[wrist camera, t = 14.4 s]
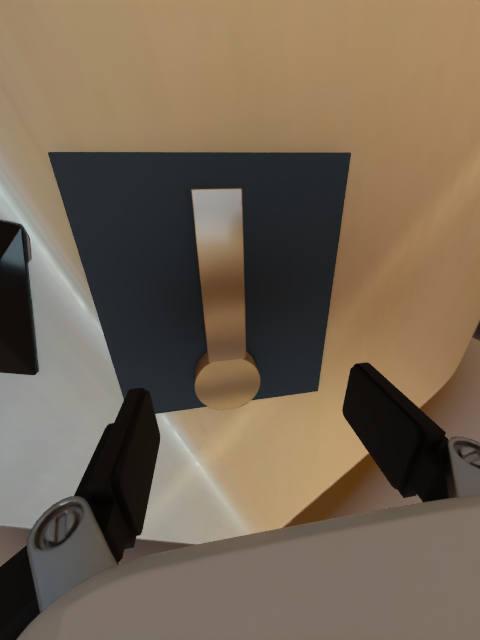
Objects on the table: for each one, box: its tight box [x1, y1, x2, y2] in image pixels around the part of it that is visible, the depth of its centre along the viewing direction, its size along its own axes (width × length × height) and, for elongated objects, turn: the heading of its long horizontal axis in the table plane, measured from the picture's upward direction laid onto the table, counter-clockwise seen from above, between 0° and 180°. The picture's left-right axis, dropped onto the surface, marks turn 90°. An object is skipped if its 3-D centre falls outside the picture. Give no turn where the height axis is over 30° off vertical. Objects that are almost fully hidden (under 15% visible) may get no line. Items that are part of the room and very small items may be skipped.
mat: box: [48, 152, 351, 414], centre depth 20 cm, size 20×22×1 cm
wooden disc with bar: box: [191, 188, 260, 410], centre depth 19 cm, size 18×6×3 cm, turn 2°
